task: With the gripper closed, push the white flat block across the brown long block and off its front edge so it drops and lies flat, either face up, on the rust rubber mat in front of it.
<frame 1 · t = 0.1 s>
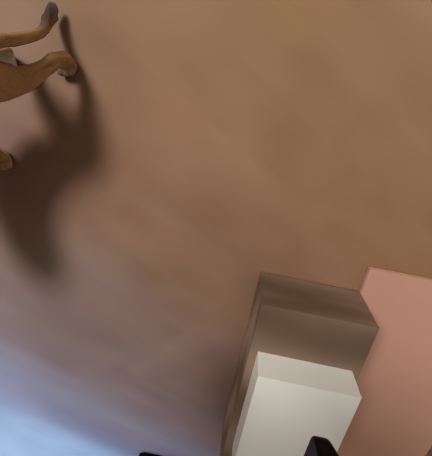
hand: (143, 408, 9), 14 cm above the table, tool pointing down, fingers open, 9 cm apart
white flat block: (288, 424, 21), point 5 cm above the table, touching brown long block
lion figurine: (15, 124, 21), on the table
brown long block: (282, 366, 26), on the table
mat: (389, 389, 25), on the table
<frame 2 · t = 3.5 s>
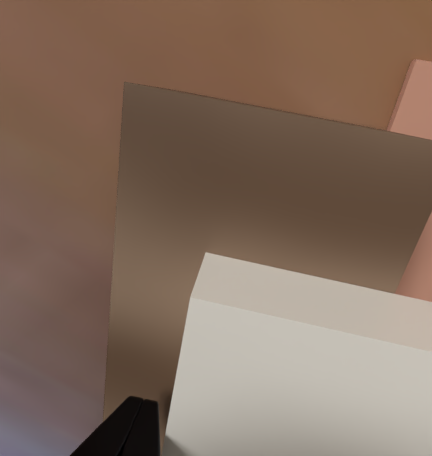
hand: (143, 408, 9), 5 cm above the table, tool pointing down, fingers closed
white flat block: (281, 441, 9), point 5 cm above the table, touching brown long block, gripper
brown long block: (229, 313, 13), on the table
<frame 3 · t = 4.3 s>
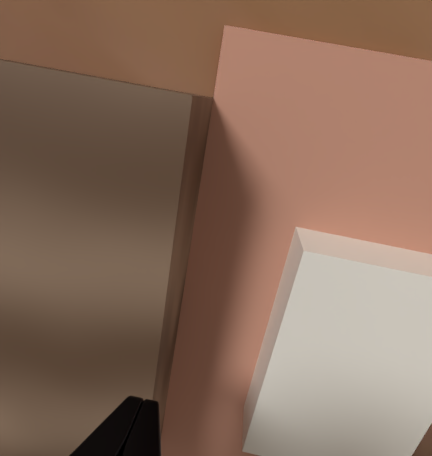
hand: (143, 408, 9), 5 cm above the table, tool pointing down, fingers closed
white flat block: (346, 363, 12), point 1 cm above the table, tilted 180°, touching mat
brown long block: (100, 286, 14), on the table
mat: (302, 328, 13), on the table
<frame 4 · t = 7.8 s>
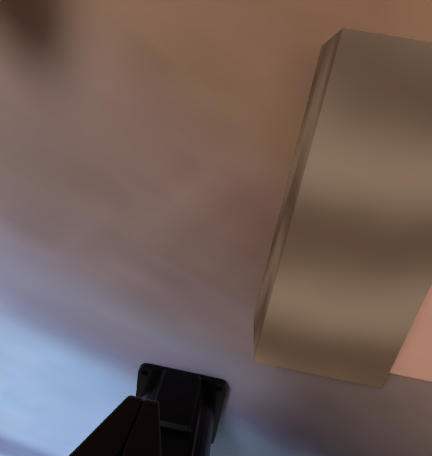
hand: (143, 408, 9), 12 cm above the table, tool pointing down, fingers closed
brown long block: (343, 214, 18), on the table
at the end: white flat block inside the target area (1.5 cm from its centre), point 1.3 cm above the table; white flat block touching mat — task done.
